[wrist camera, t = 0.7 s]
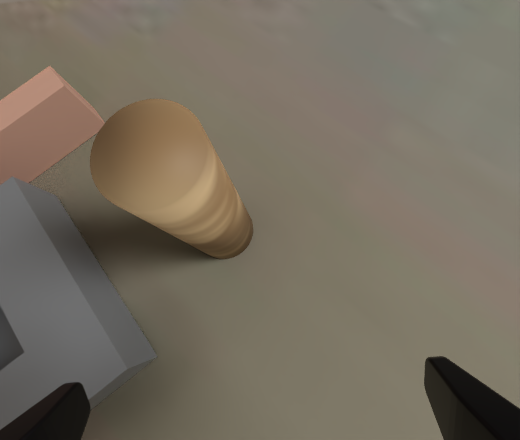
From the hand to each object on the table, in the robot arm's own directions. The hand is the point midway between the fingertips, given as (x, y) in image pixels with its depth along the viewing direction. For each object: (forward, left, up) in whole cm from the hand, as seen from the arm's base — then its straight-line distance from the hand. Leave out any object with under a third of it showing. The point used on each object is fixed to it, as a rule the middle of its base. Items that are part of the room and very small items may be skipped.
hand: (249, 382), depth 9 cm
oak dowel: (+6, +5, -13) cm, 15 cm away
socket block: (-4, +17, -13) cm, 22 cm away
